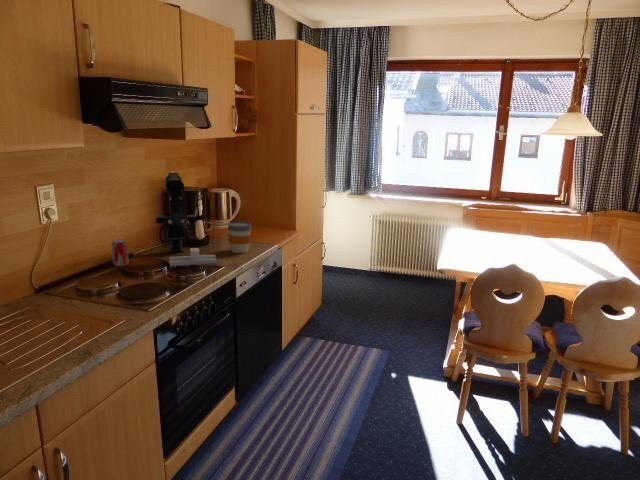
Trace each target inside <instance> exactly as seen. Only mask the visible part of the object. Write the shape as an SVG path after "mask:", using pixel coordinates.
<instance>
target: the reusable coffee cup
mask: <svg viewBox="0 0 640 480" xmlns="http://www.w3.org/2000/svg"><path fill="white" fill-rule="evenodd" d="M227 230H228V240H229V243H230V249H231V252H232V253H236V254H243V253H247V252H249V246H250V242H251V238H252V237H251V236H252V234H251V231H252V223H251V222H249V221H232V222H229V223H228V224H227Z"/></svg>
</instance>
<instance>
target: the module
mask: <svg viewBox="0 0 640 480" xmlns="http://www.w3.org/2000/svg"><path fill="white" fill-rule="evenodd" d="M189 252H190V255H189V256H190V259H191V260H200V256H201V255H200V249H199V248H198V247H195V248H192V247H191V248H189Z"/></svg>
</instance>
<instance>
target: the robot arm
mask: <svg viewBox="0 0 640 480" xmlns="http://www.w3.org/2000/svg"><path fill="white" fill-rule="evenodd" d="M179 175H180V174H179V172H168V175H167V176H166V177H165V179H164V180H165V189H166V195H168V197H169V198H168V200H169V201H168V202H169V216H167V217H165V215H156V216H155V223H156V224H164V223H165V222H168V223H167V224H168V229H167V241H168V242H169V241H170V248H169V252H170V253H171V254H172V253H183V252H184V251H183V250H184V249H183V242H184V241H185V240H186V231H185V229H183V228H184V227H183V225H184V224H185V222H186V221H187V222H189V224H190V223H197V218H196V215H195V214H187V215H186V212H183V210H182V209H183V208H182V206H183V200H182V195H184V193H185V184H184V182H183V180H182V177H181V176H179ZM182 241H183V242H182Z"/></svg>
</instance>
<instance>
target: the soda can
mask: <svg viewBox="0 0 640 480" xmlns="http://www.w3.org/2000/svg"><path fill="white" fill-rule="evenodd" d="M111 256H112V265H114V266H116V267H125V265H126V266H127V265H128V264H129V246H128V242H127V240H126V239H124V238H120V239H119V238H118V239H114V240H112V243H111Z"/></svg>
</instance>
